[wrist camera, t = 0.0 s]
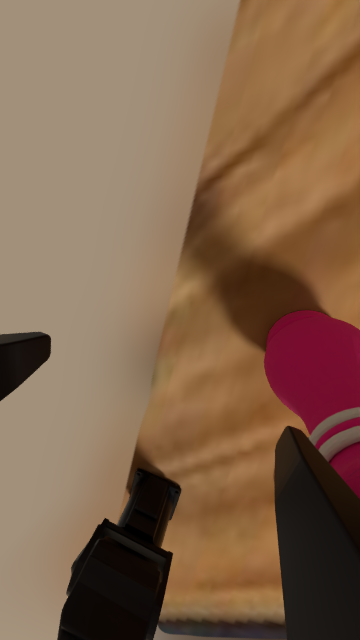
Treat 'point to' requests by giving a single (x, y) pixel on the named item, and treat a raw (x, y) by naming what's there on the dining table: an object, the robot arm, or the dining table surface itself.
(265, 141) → the dining table surface
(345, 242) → the dining table surface
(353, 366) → the pepper mill
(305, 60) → the dining table surface
